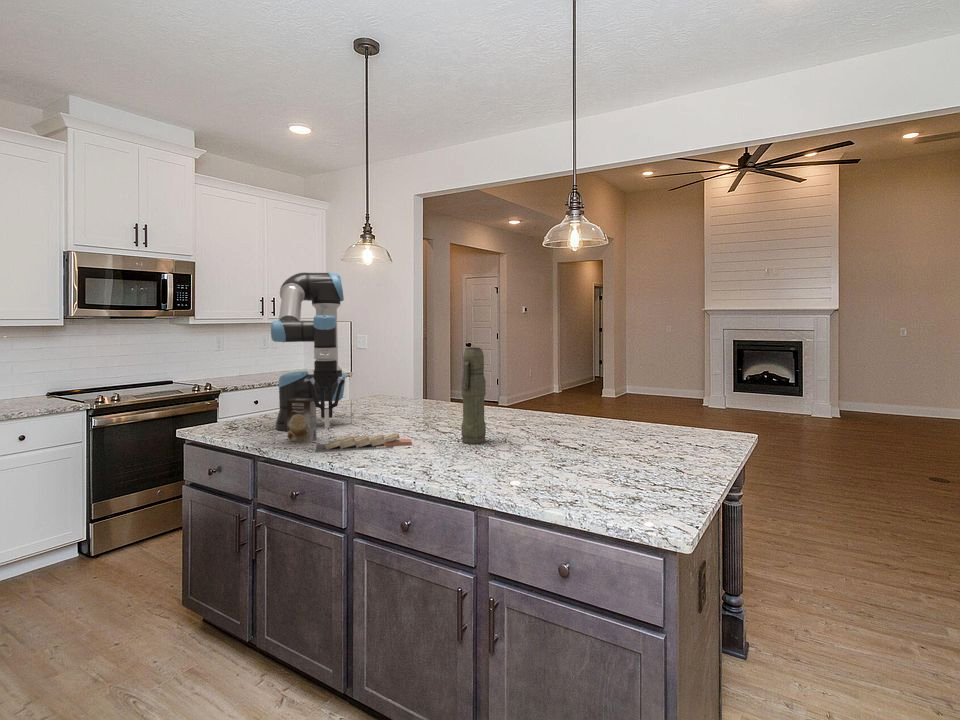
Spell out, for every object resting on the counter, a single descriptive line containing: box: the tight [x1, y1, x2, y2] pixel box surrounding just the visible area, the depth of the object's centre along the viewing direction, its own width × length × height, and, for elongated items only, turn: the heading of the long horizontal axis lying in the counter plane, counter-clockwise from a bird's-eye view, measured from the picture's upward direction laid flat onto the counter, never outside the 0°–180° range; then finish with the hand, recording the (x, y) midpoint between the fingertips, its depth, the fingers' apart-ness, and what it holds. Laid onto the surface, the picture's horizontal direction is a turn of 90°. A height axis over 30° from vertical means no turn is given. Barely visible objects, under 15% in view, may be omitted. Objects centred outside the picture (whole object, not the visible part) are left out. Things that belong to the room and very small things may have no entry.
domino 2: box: [340, 434, 369, 449], centre depth 196 cm, size 5×1×10 cm
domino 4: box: [371, 432, 401, 447], centre depth 199 cm, size 5×1×10 cm
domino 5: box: [383, 438, 413, 447], centre depth 200 cm, size 5×1×10 cm
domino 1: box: [325, 434, 356, 450], centre depth 195 cm, size 5×1×10 cm
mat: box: [314, 443, 394, 453], centre depth 197 cm, size 12×26×1 cm, turn 104°
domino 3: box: [356, 433, 384, 448], centre depth 197 cm, size 5×1×10 cm
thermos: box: [461, 346, 487, 445], centre depth 204 cm, size 9×12×35 cm
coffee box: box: [286, 398, 317, 444], centre depth 205 cm, size 9×6×16 cm
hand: (327, 426), depth 193 cm, fingers closed
